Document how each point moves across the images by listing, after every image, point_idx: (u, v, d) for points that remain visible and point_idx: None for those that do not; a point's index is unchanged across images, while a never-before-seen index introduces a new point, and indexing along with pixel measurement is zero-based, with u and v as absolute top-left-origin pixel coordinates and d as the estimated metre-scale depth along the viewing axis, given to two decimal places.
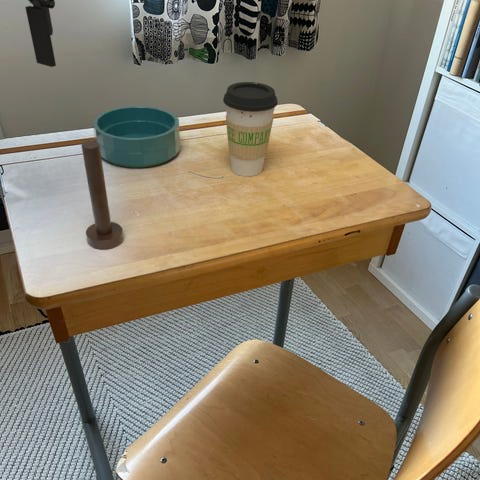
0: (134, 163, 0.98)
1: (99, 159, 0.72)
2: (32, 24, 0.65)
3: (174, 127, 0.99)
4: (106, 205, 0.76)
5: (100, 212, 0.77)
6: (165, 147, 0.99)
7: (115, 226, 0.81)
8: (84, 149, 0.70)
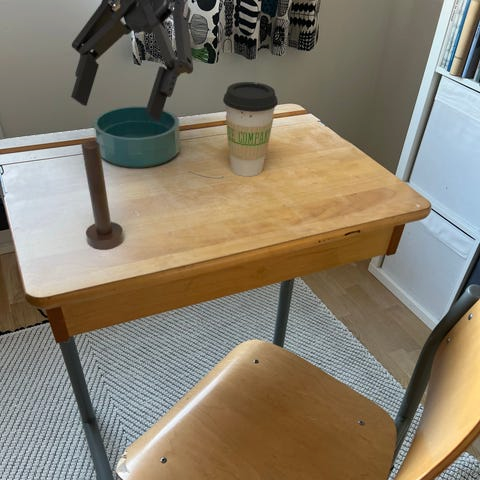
0: (134, 163, 0.98)
1: (99, 159, 0.72)
2: (87, 69, 0.76)
3: (174, 127, 0.99)
4: (106, 205, 0.76)
5: (100, 212, 0.77)
6: (165, 147, 0.99)
7: (115, 226, 0.81)
8: (84, 149, 0.70)
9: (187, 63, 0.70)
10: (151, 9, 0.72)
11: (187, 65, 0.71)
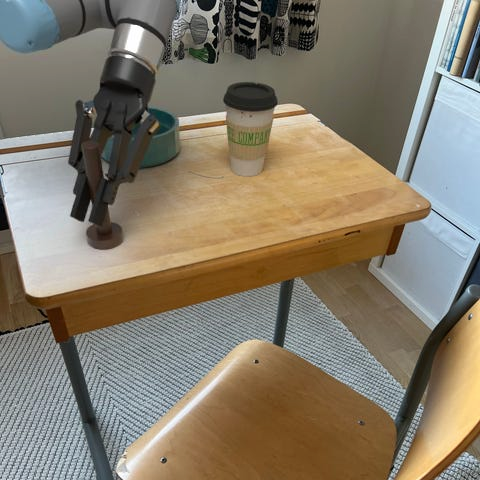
0: None
1: (99, 159, 0.72)
2: (86, 188, 0.74)
3: (174, 127, 0.99)
4: None
5: None
6: (165, 147, 0.99)
7: (115, 226, 0.81)
8: (84, 149, 0.70)
9: (128, 177, 0.73)
10: (122, 115, 0.73)
11: (127, 179, 0.73)
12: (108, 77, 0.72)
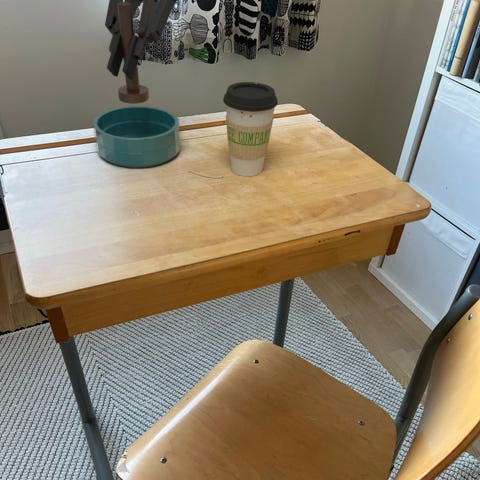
0: (134, 163, 0.98)
1: (131, 17, 0.88)
2: (119, 45, 0.90)
3: (174, 127, 0.99)
4: None
5: None
6: (165, 147, 0.99)
7: (142, 87, 0.97)
8: (120, 6, 0.86)
9: (154, 35, 0.89)
10: None
11: (154, 36, 0.89)
12: None
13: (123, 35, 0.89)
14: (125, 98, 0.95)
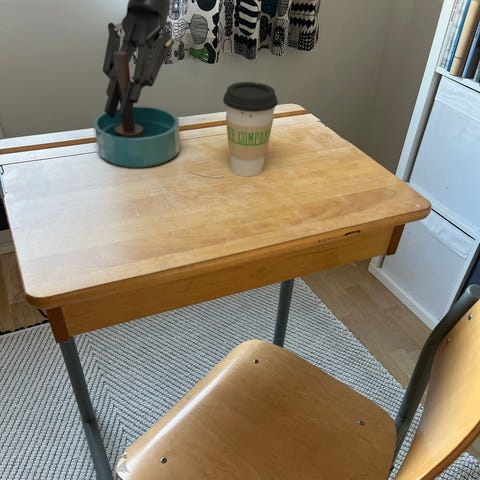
0: (134, 163, 0.98)
1: (127, 64, 0.94)
2: (116, 89, 0.97)
3: (174, 127, 0.99)
4: None
5: None
6: (165, 147, 0.99)
7: (137, 126, 1.03)
8: (116, 56, 0.92)
9: (149, 80, 0.96)
10: (145, 32, 0.95)
11: (148, 81, 0.96)
12: (134, 2, 0.94)
13: (119, 81, 0.95)
14: None
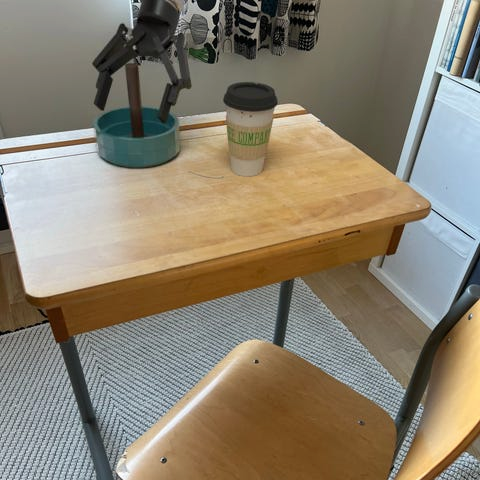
0: (134, 163, 0.98)
1: (138, 77, 0.95)
2: (105, 82, 0.99)
3: (174, 127, 0.99)
4: (141, 116, 1.00)
5: (137, 122, 1.00)
6: (165, 147, 0.99)
7: (147, 136, 1.04)
8: (127, 68, 0.93)
9: (188, 81, 0.95)
10: (159, 40, 0.96)
11: (188, 83, 0.95)
12: (144, 12, 0.95)
13: (130, 93, 0.96)
14: None
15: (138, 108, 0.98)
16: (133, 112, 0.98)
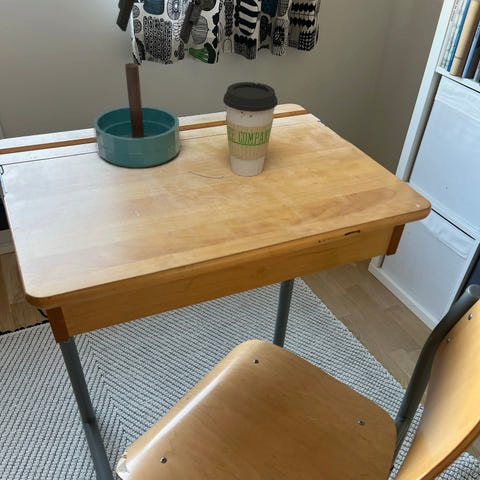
0: (134, 163, 0.98)
1: (138, 77, 0.95)
2: (128, 2, 0.99)
3: (174, 127, 0.99)
4: (141, 116, 1.00)
5: (137, 122, 1.00)
6: (165, 147, 0.99)
7: (147, 136, 1.04)
8: (127, 68, 0.93)
9: (210, 0, 0.96)
10: None
11: (210, 1, 0.96)
12: None
13: (130, 93, 0.96)
14: None
15: (138, 108, 0.98)
16: (133, 112, 0.98)
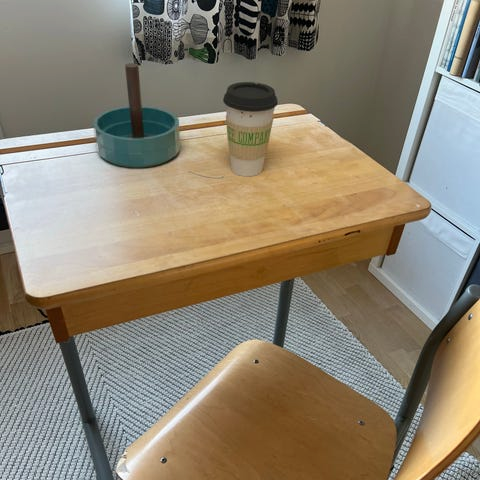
0: (134, 163, 0.98)
1: (138, 77, 0.95)
2: None
3: (174, 127, 0.99)
4: (141, 116, 1.00)
5: (137, 122, 1.00)
6: (165, 147, 0.99)
7: (147, 136, 1.04)
8: (127, 68, 0.93)
9: None
10: None
11: None
12: None
13: (130, 93, 0.96)
14: None
15: (138, 108, 0.98)
16: (133, 112, 0.98)
